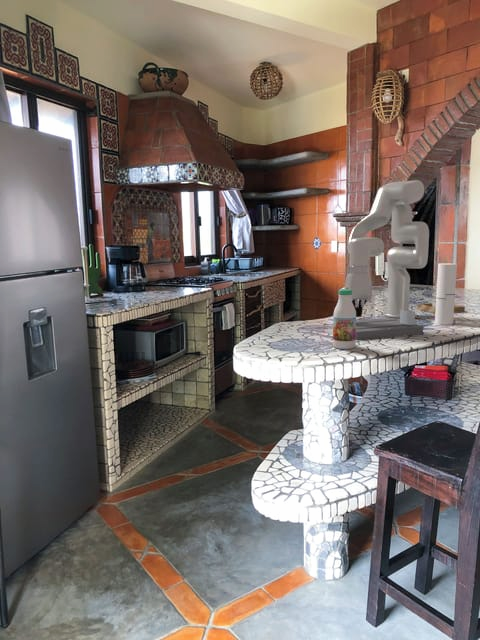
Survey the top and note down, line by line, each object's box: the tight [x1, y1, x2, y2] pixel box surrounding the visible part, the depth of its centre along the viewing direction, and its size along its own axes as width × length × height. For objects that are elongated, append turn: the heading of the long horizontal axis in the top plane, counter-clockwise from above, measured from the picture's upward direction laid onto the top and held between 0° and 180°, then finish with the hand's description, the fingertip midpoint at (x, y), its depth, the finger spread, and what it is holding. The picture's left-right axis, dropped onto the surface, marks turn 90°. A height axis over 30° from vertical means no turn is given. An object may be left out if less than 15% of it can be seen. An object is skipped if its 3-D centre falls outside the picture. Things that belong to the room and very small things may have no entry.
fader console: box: [356, 317, 424, 341], centre depth 183 cm, size 19×28×3 cm
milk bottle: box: [332, 288, 357, 350], centre depth 159 cm, size 8×8×20 cm
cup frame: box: [417, 302, 466, 314], centre depth 227 cm, size 15×15×2 cm
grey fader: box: [399, 309, 416, 325], centre depth 180 cm, size 5×3×5 cm, turn 15°
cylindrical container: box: [434, 262, 458, 326], centre depth 195 cm, size 7×7×25 cm
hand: (357, 316), depth 186 cm, fingers closed
